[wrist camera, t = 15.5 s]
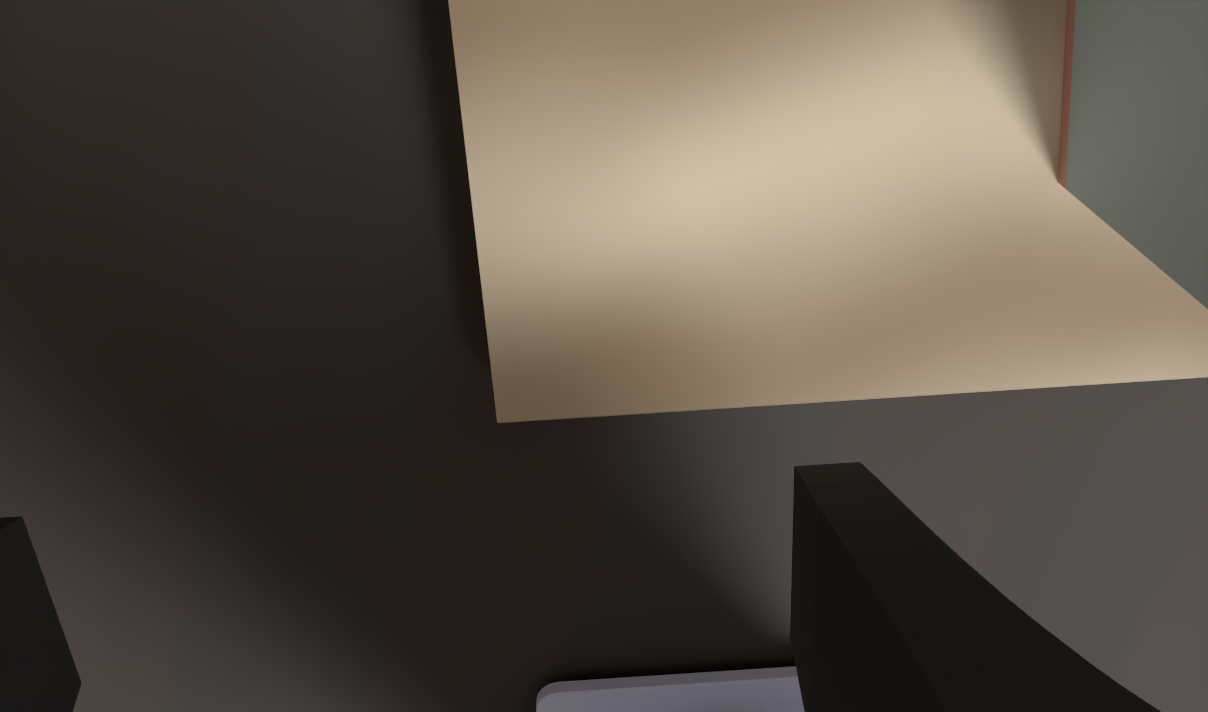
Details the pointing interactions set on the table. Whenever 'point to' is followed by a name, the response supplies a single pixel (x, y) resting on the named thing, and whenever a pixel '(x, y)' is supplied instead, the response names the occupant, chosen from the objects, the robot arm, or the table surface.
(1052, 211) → the birch board
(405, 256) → the table surface
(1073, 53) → the block
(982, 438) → the table surface
